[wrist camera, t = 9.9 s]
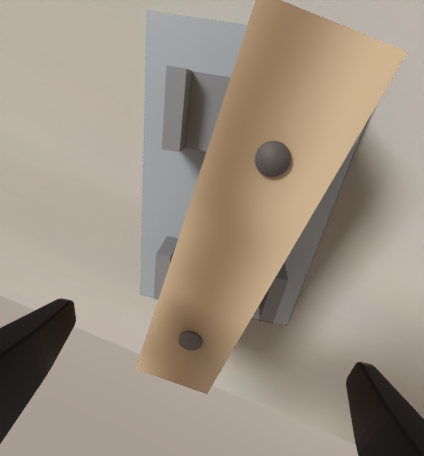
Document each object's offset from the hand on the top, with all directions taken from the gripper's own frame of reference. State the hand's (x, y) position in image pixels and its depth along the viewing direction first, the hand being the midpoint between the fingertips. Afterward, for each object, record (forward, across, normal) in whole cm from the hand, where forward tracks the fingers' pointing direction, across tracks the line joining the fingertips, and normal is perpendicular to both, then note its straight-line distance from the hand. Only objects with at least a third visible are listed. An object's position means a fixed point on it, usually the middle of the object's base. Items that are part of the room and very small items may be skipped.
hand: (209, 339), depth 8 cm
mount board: (+12, 0, 0) cm, 12 cm away
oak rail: (+9, 0, 0) cm, 9 cm away
